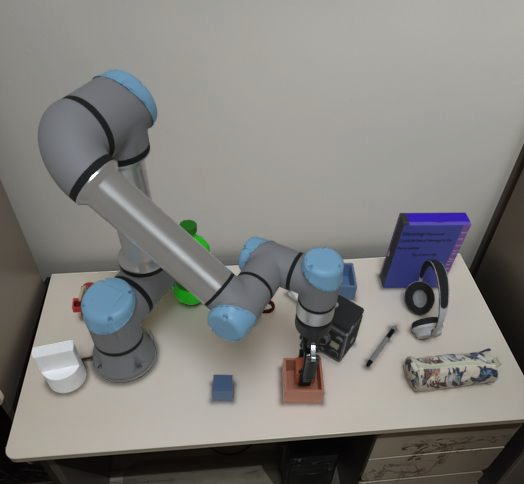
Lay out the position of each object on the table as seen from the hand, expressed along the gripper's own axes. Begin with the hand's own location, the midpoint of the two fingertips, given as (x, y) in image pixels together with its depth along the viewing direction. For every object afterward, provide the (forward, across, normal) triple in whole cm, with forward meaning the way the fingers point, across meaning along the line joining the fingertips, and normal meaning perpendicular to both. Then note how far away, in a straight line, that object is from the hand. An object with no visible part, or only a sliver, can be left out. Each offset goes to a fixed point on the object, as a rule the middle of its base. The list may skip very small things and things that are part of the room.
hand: (303, 374), depth 115 cm
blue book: (+5, +35, -34) cm, 49 cm away
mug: (+5, +21, +12) cm, 25 cm away
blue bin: (+5, +32, -12) cm, 35 cm away
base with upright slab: (+5, +2, +57) cm, 57 cm away
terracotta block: (0, 0, 0) cm, 0 cm away
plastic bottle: (+5, +27, +29) cm, 40 cm away
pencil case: (+5, +2, -36) cm, 36 cm away
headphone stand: (+5, +30, -1) cm, 30 cm away
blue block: (+5, -2, +19) cm, 20 cm away
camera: (+5, +12, -8) cm, 16 cm away
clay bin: (+5, 0, 0) cm, 5 cm away
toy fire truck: (+5, +23, +56) cm, 61 cm away
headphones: (+5, +20, -33) cm, 40 cm away
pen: (+5, +12, -22) cm, 26 cm away
